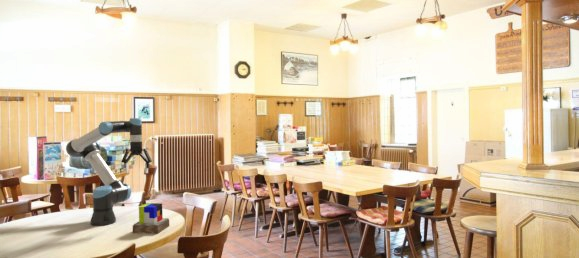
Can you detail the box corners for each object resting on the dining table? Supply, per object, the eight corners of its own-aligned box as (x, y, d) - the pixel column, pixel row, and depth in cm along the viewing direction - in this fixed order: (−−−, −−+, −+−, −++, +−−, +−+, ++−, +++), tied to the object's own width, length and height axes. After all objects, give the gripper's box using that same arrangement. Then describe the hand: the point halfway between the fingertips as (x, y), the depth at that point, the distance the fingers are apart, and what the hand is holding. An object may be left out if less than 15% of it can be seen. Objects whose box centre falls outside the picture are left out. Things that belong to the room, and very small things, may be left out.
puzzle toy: (154, 223, 242) (154, 207, 241) (139, 223, 243) (138, 206, 243) (162, 219, 251) (162, 203, 251) (147, 218, 253) (147, 203, 253)
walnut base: (132, 232, 241) (132, 224, 240) (145, 225, 256) (145, 217, 256) (158, 233, 239) (158, 225, 238) (169, 225, 255) (169, 218, 254)
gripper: (115, 141, 265) (116, 173, 266) (151, 141, 262) (152, 173, 263) (121, 140, 273) (122, 171, 273) (156, 140, 270) (157, 172, 271)
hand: (137, 173), depth 268 cm, fingers open, 13 cm apart
